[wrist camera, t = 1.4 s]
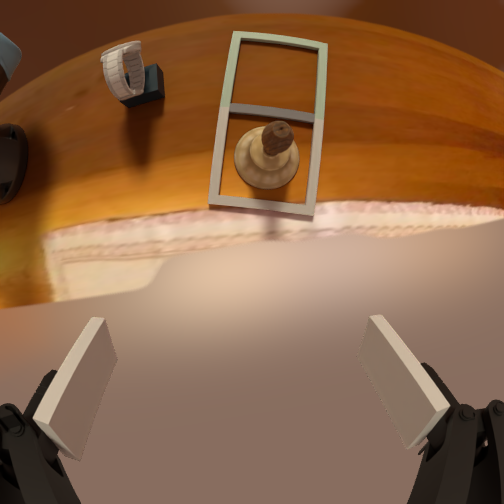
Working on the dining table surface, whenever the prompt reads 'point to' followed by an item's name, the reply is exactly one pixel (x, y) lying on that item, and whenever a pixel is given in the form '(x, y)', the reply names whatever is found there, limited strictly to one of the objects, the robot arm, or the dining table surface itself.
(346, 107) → the dining table surface
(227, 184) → the dining table surface
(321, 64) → the window frame
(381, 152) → the dining table surface
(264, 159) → the hand bell
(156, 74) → the watch
